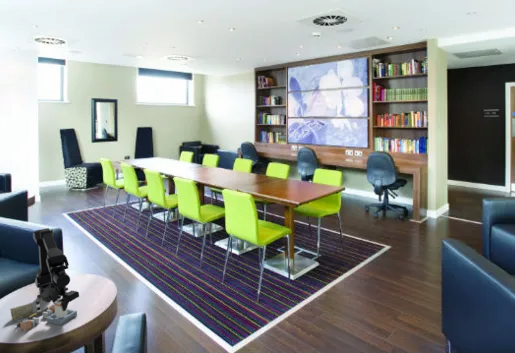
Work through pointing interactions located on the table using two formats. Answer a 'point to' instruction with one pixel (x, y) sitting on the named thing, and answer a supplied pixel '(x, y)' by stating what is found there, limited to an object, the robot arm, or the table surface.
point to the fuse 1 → (25, 324)
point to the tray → (64, 319)
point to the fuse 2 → (52, 308)
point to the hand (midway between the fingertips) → (61, 310)
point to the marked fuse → (59, 309)
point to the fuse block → (45, 312)
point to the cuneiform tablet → (23, 311)
